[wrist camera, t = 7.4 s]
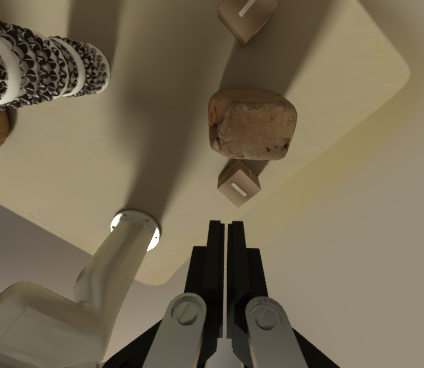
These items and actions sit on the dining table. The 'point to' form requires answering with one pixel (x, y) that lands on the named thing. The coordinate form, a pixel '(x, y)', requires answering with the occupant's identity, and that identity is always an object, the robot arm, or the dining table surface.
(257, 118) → the block
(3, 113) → the ceramic vessel
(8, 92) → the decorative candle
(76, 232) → the dining table surface
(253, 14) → the walnut cube
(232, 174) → the walnut cube
